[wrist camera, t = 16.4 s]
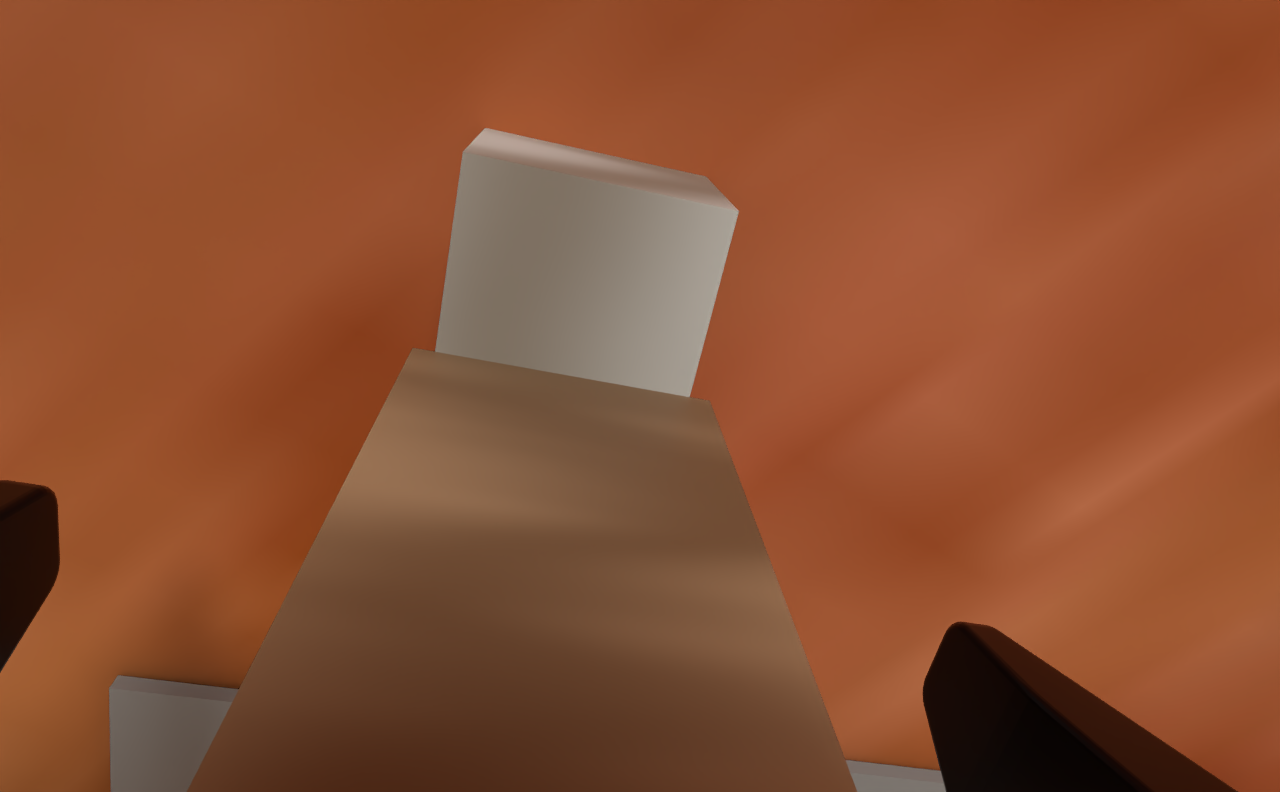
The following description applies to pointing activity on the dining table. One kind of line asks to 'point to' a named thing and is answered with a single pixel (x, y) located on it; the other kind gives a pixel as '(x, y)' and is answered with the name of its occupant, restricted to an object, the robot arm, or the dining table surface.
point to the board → (191, 714)
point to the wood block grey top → (543, 530)
